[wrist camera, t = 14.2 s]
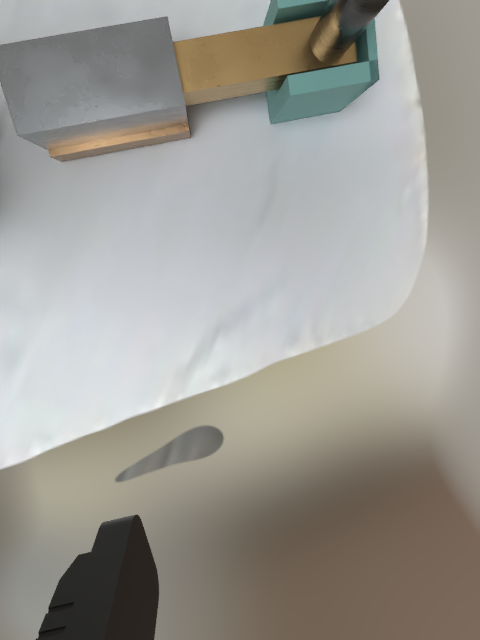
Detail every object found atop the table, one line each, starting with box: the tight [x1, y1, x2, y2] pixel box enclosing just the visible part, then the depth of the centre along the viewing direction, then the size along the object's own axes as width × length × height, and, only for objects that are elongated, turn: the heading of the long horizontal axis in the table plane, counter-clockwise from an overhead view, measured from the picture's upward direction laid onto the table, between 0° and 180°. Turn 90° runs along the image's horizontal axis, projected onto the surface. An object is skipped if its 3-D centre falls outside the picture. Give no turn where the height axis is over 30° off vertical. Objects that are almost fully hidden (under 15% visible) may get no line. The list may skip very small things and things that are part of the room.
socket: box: [263, 0, 379, 124], centre depth 28 cm, size 6×6×8 cm
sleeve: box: [0, 17, 191, 162], centre depth 27 cm, size 11×6×8 cm, turn 101°
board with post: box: [173, 0, 389, 106], centre depth 22 cm, size 14×3×12 cm, turn 101°
